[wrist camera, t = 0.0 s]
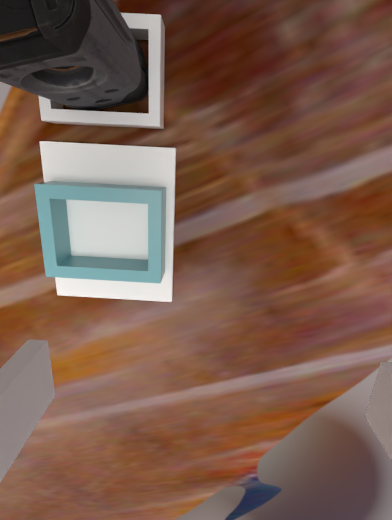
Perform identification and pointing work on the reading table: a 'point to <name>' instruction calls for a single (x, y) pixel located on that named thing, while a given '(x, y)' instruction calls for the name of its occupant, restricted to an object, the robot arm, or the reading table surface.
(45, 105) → the white rectangular frame
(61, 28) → the electronic device
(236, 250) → the reading table surface
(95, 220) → the dock
